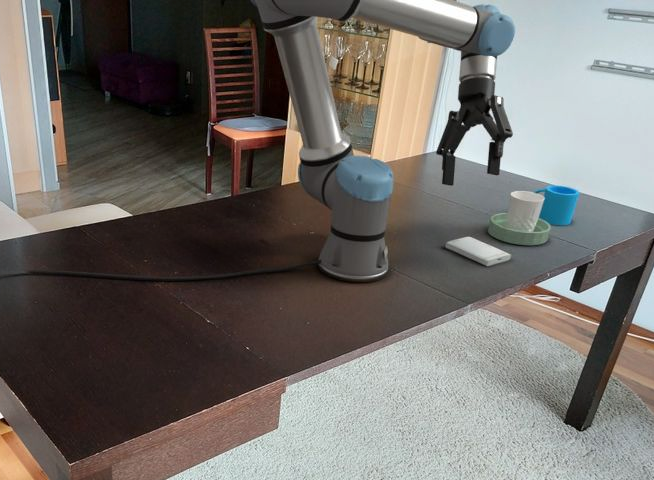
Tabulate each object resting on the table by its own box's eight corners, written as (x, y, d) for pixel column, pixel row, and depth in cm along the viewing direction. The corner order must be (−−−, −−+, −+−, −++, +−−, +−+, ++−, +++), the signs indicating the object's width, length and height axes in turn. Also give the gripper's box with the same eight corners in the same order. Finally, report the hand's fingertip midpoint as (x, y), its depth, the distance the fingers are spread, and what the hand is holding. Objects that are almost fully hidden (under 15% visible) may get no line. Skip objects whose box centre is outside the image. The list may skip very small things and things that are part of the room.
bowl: (498, 245, 165) (501, 231, 163) (480, 224, 177) (483, 211, 175) (556, 247, 165) (560, 233, 163) (534, 226, 177) (538, 213, 175)
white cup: (495, 234, 170) (505, 195, 165) (508, 226, 175) (518, 188, 170) (526, 242, 166) (537, 203, 161) (538, 234, 171) (549, 196, 166)
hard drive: (446, 241, 162) (488, 260, 152) (469, 235, 165) (511, 253, 156) (444, 248, 162) (486, 266, 153) (468, 242, 166) (510, 260, 157)
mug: (575, 220, 182) (584, 190, 178) (563, 227, 177) (572, 197, 173) (531, 209, 189) (538, 180, 185) (519, 215, 184) (526, 186, 179)
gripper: (536, 67, 138) (527, 172, 139) (450, 101, 161) (443, 190, 162) (509, 59, 135) (500, 166, 136) (425, 94, 158) (418, 186, 159)
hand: (469, 179), depth 149 cm, fingers open, 13 cm apart
